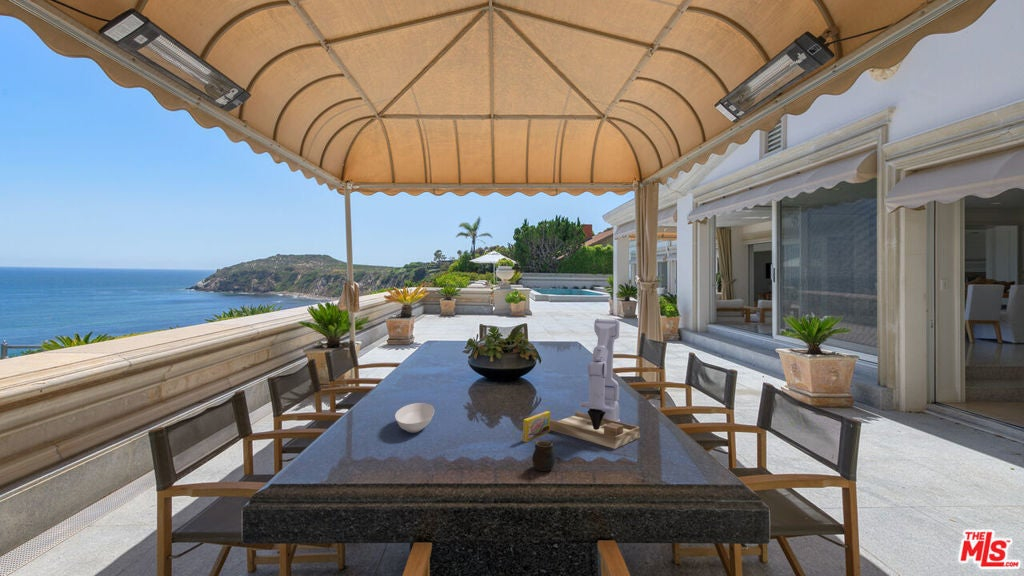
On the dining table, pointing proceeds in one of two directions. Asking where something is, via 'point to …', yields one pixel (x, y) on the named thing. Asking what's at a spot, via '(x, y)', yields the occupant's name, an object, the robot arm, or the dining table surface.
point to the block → (613, 429)
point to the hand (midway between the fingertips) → (596, 429)
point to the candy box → (536, 426)
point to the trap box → (584, 430)
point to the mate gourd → (543, 456)
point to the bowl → (414, 416)
